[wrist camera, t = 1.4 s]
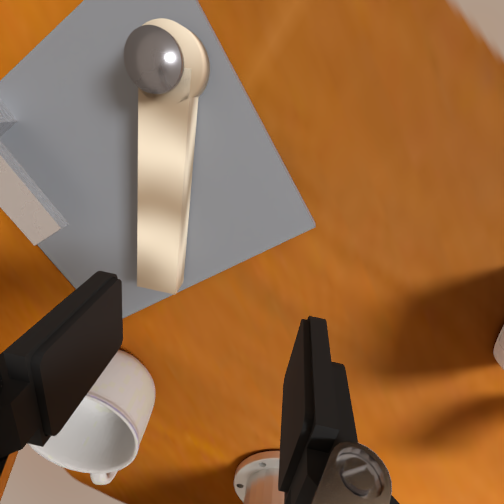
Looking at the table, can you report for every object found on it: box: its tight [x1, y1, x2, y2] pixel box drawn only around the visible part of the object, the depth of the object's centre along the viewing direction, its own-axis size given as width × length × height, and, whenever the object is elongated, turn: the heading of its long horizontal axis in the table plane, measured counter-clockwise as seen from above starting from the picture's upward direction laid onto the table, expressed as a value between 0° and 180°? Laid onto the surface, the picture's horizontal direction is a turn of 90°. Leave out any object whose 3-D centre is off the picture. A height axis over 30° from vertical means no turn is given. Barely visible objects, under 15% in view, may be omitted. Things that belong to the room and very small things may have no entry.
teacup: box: [29, 350, 155, 485], centre depth 32 cm, size 14×11×8 cm
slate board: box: [0, 0, 316, 319], centre depth 25 cm, size 20×22×1 cm
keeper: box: [0, 99, 69, 246], centre depth 24 cm, size 10×3×5 cm, turn 30°
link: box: [124, 18, 210, 294], centre depth 22 cm, size 18×4×4 cm, turn 171°
